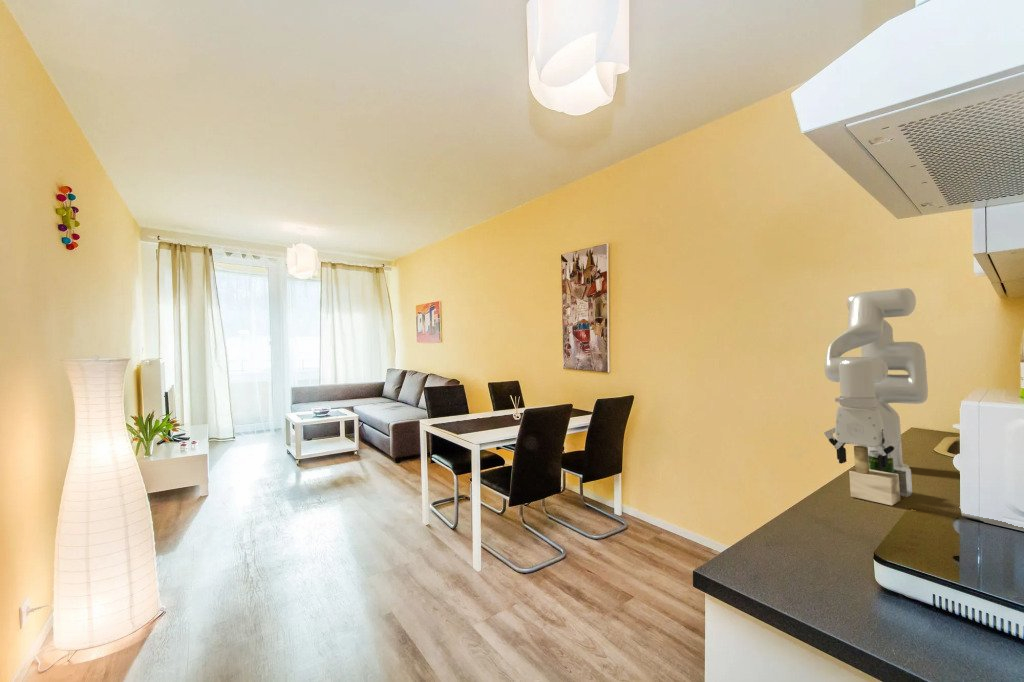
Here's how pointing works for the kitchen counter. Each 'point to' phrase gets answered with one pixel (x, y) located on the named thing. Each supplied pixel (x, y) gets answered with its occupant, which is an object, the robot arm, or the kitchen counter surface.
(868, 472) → the wooden block with peg
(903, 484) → the grey box
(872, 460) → the beer can
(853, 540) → the kitchen counter surface
